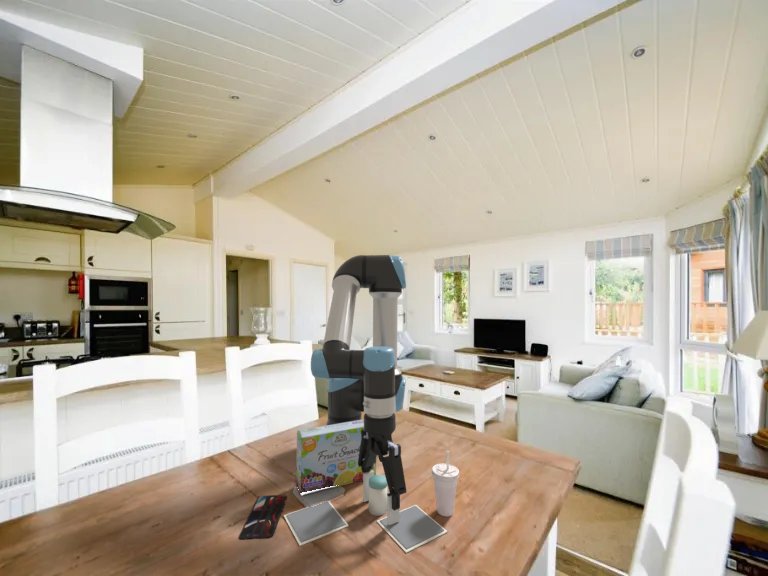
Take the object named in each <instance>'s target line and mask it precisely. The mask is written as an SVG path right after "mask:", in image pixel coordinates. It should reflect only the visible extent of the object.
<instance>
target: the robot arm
mask: <svg viewBox="0 0 768 576" xmlns="http://www.w3.org/2000/svg"><path fill="white" fill-rule="evenodd" d="M406 283H407V281H406V273H405V266H404V260H403V258H402V257H401V256H399V255H390V254H379V255H378V254H377V255H373V254H371V255H365V254H359V255H354V256H352V257H350V258H348V259H347V260H345V261H344V262H343V263H342V264H341V265H340V266H339V267H338V269H336V272H335V273H334V275H333V278H332V282H331V287H332V291H333V293H332V297H331V302H330V307H329V308H330V309H329V312H328V318H327V323H326V328H325V331H324V332H325V333H324V339H323V343H322V348H319V349H314V351H313V352H312V354H311V358H310V373H311V375H312V376H313V377H314V378H317V379H328V384H327V385H328V386H327V391H326V392H327V421H326V424H325V426H327V425H333V424H339V423H345V422H351V421H357V420H363V419H364V429H362V430H361V445H360V452H359V459H358V466H359V467H360V466H361V467H362V468H361V469H362V472H363V480H362V481H363V483H362V492H363V494H362V495H363V497H362V499H363V502H364V503H366V502H369V478H370V477H371V476H373V475H374V471H373V470H372V471H370V470H371V469H374V466H373V465H374V462H375V459H376V460H377V457H378V461H379V462H381V465H382V468H383V472H384V476H385V477H386V481H387V484H388V485H387V489H388V492H387V512H386V514H387V515H386V517H387V524H388V525H392V524H394V523H396V522H399V511H400V508H401V495H404V494H407V486H406V485H407V484H406V480H405V478H406V477H405V472H404V466H403V459H402V445H401V444H398V443H397V444H395V443H394V441H393V438H392V435H393V433H394V432H395V431H396V427H397V424H396V423H397V422H396V421H397V419H396V414H395V413H398V412H400V411H401V410H402V409H403V405H404V399H405V392H406V385H407V384H406V377H405V376H402V373H403V372H402V371H401V369H400V368H399V367H398V305H399V304H398V299H399V297H400V296H401V295H402V294H403V290H404V289H407V284H406ZM361 289H368V294H369V295H370V296H371V298H372V346H369V347H365V348H364V350H363V349H350V348H351V342H352V333H353V326H354V325H353V324H354V316H355V309H356V302H357V294H358V293H359V292H360V290H361ZM362 413H364V415H363V416H362ZM362 417H363V419H362ZM363 459H364V460H363Z"/></svg>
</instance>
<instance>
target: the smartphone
mask: <svg viewBox="0 0 768 576" xmlns="http://www.w3.org/2000/svg"><path fill="white" fill-rule="evenodd" d="M287 498H288V497H287V495H286V494H275V495H274V494H273V495H272V494H270V495H260V496H258V497H257V498H256V500H255V503H254V504H253V506H252V509H251V511H250V513H249V515H248V517H247V519H246V521H245V523H244V526H243V527H242V529H241V532H240V534H239V536H238V539H239V540H241V541H242V540H243V541H244V540H255V539H256V540H262V539H263V540H264V539H265V540H266V539H272V538H273V537H274V535H275V533H276V530H277V527H278V524H279V521H280V518H281V516H282V513H283V510H284V509H285V506H286V502H285V501H287Z"/></svg>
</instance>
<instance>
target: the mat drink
mask: <svg viewBox="0 0 768 576" xmlns="http://www.w3.org/2000/svg"><path fill="white" fill-rule="evenodd" d="M376 523H377V524H378V525H379V526H380V527H381V529H383V530H384V531H385V532H386V533H387V534H388V535H389V536H390V537H391V539H392V540H393V541H394V542H395V543H396V544H397V545H398V546H399V547H400V548H401V549H402V550H403V551H404V553H406V554H408V553H409V552H411V551H413V550H416V549H418V548H419V547H421V546H424V545H425V544H427V543H429V542H431V541H433V540H436V539H437V538H439V537H441V536H443V535H445V534H447V533H448V530H447V529H445V528H444V527H443V526H442V525H441V524H440V523H438V522H437V521H436V520H435V519H433V517H432V516H430V515H429V514H428V513H427V512H425V511H424V510H422V508H420V507H419V506H418V505H417V504H413V505H411V506H410V507H407V508H406V507H405V509H402V510H399V522H396V523H394V524H392V525H388V524H387V516H385V517H383V518H381V519H378V520H376Z"/></svg>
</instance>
